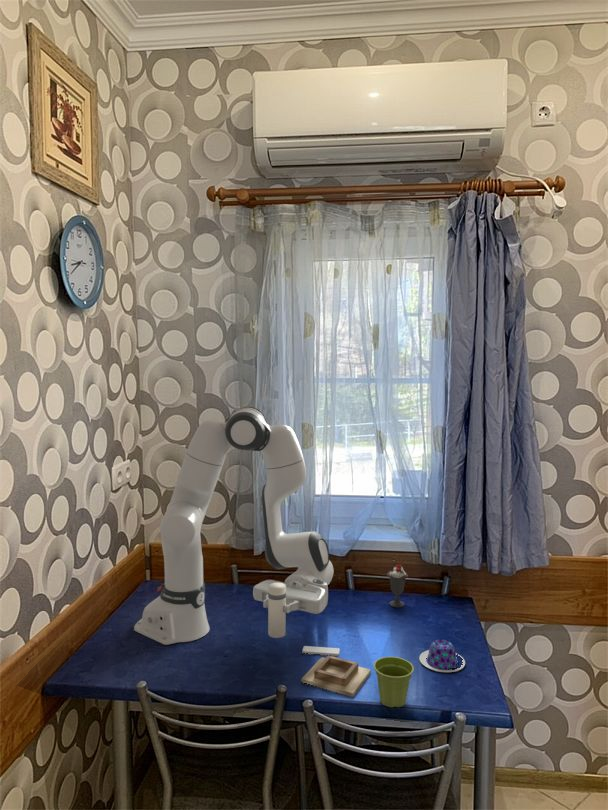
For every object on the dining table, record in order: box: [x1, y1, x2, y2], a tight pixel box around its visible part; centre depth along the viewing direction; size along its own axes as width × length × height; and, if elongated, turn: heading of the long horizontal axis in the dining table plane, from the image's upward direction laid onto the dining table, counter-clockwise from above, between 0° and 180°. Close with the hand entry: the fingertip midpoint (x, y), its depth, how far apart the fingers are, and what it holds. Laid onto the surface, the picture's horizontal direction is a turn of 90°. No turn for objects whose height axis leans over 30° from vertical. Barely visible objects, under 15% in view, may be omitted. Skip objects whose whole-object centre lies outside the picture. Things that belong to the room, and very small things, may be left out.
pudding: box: [418, 639, 466, 673], centre depth 166 cm, size 12×12×5 cm
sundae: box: [386, 561, 409, 608], centre depth 200 cm, size 7×7×15 cm
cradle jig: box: [300, 655, 372, 698], centre depth 158 cm, size 14×12×3 cm
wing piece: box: [301, 645, 341, 657], centre depth 171 cm, size 10×3×1 cm, turn 83°
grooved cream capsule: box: [267, 583, 287, 639], centre depth 161 cm, size 5×5×13 cm
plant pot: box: [373, 656, 415, 708], centre depth 147 cm, size 9×9×9 cm
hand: (275, 607), depth 160 cm, fingers closed on grooved cream capsule, 4 cm apart
